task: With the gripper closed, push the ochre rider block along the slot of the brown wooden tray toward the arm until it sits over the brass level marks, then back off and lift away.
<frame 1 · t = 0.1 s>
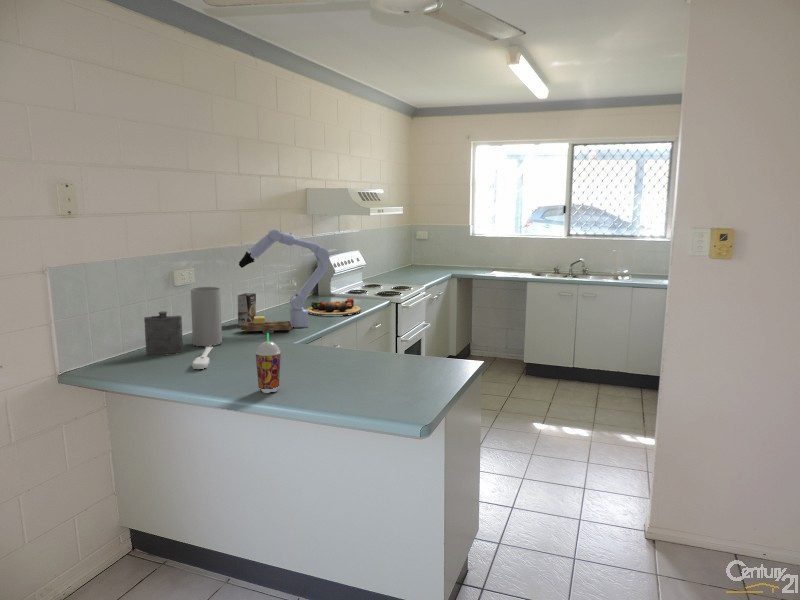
hand: (240, 265, 293), 32 cm above the countertop, tool tilted 50°, fingers open, 7 cm apart
brown wooden tray: (265, 325, 290), on the fulcrum, point 3 cm above the countertop
spatula: (204, 362, 234), on the countertop
coffee box: (247, 325, 306), on the countertop
wooden plate with food: (334, 312, 348), on the countertop
smoothie: (268, 391, 199), on the countertop
flask: (164, 354, 245), on the countertop
cylinder vase: (207, 344, 263), on the countertop
rider: (259, 321, 289), point 5 cm above the countertop, slide at 4.0 cm
fulcrum: (267, 331, 290), on the countertop
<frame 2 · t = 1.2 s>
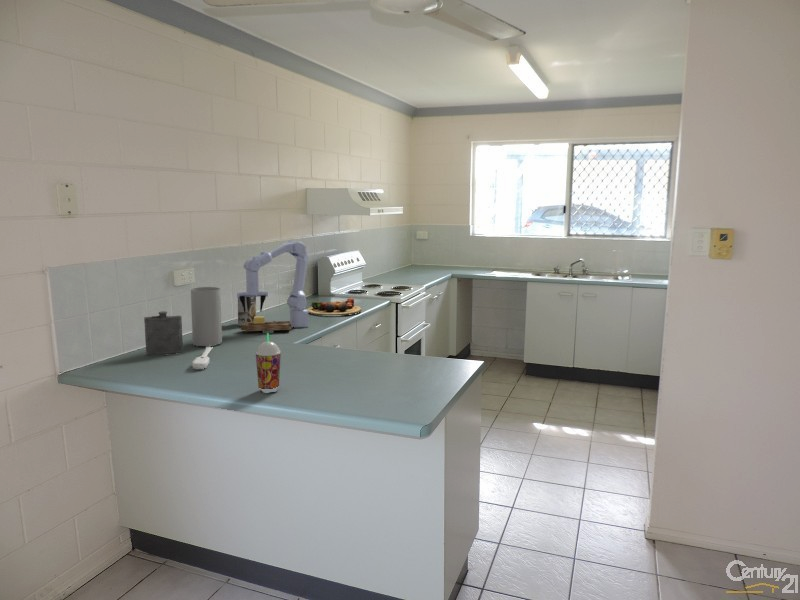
hand: (252, 311, 287), 10 cm above the countertop, tool pointing down, fingers open, 7 cm apart
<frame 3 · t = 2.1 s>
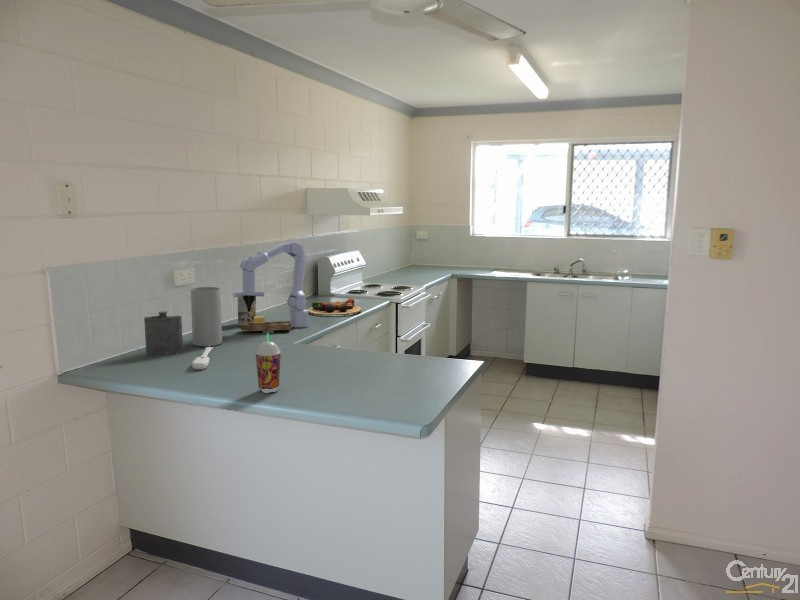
hand: (249, 311, 287), 11 cm above the countertop, tool pointing down, fingers closed
nothing on the countertop moved.
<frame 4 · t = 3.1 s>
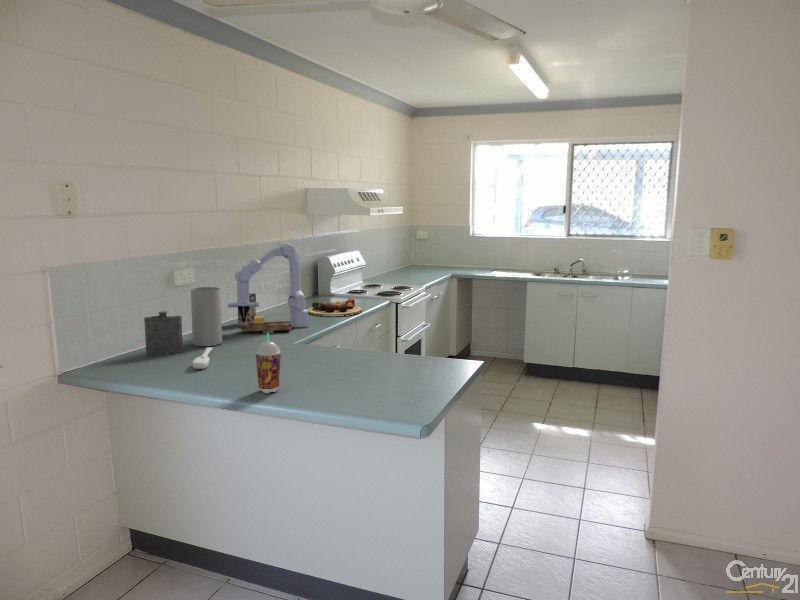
hand: (243, 321, 287), 5 cm above the countertop, tool pointing down, fingers closed
nothing on the countertop moved.
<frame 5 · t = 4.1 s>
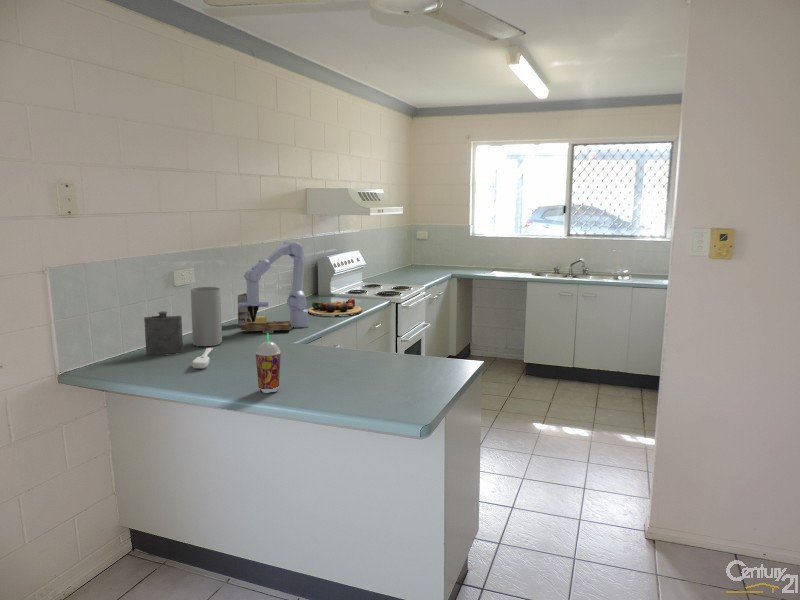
hand: (253, 321, 288), 5 cm above the countertop, tool pointing down, fingers closed
rider: (261, 321, 289), point 5 cm above the countertop, slide at 3.1 cm, touching gripper
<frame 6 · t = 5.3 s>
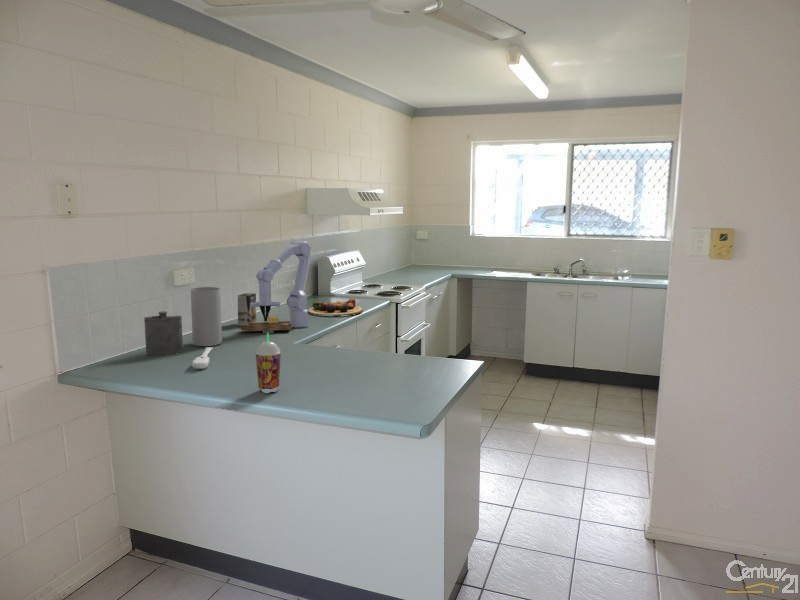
hand: (265, 321, 289), 5 cm above the countertop, tool pointing down, fingers closed
rider: (273, 321, 290), point 5 cm above the countertop, slide at -2.7 cm, touching gripper
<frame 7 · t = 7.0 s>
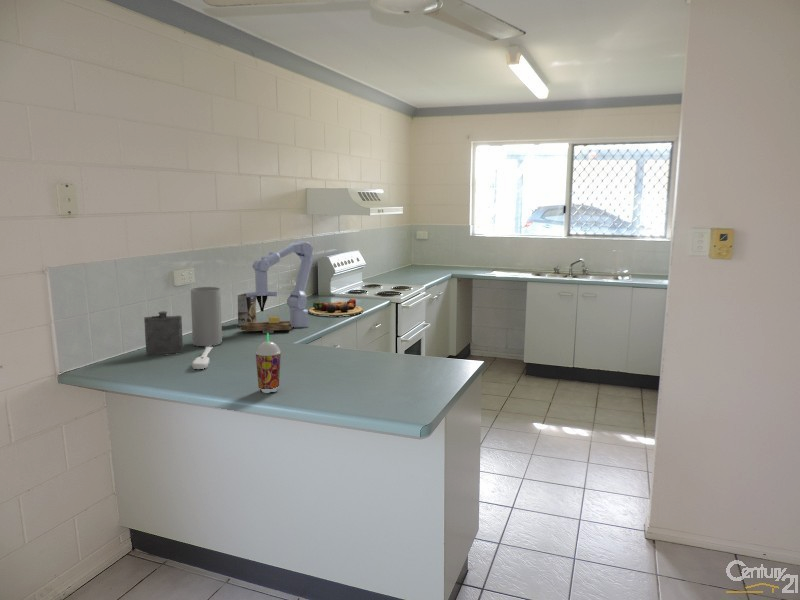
hand: (262, 311, 289), 10 cm above the countertop, tool pointing down, fingers closed
rider: (274, 321, 290), point 5 cm above the countertop, slide at -3.0 cm
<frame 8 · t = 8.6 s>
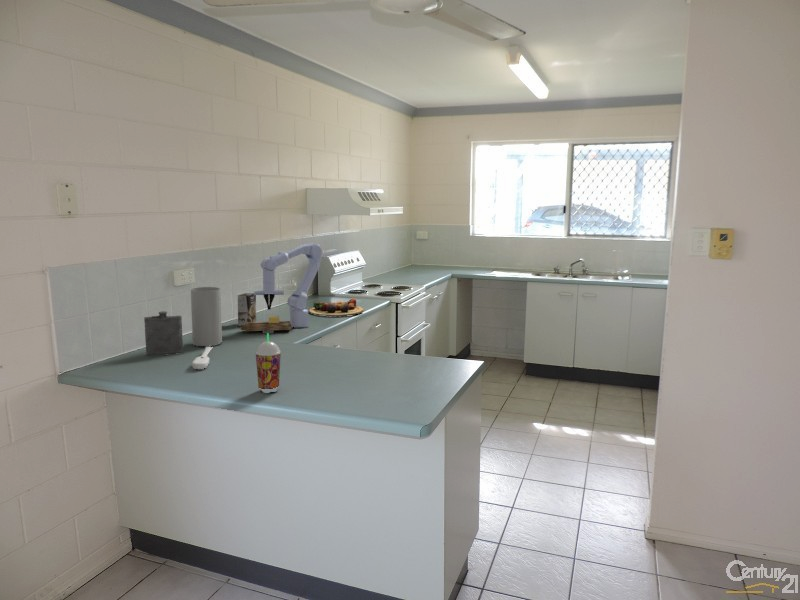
hand: (269, 309, 294), 10 cm above the countertop, tool pointing down, fingers closed
at the end: rider slide at -3.0 cm; rider 0.2 cm from the target spot on the brown wooden tray, point 5.1 cm above the brown wooden tray's base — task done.
